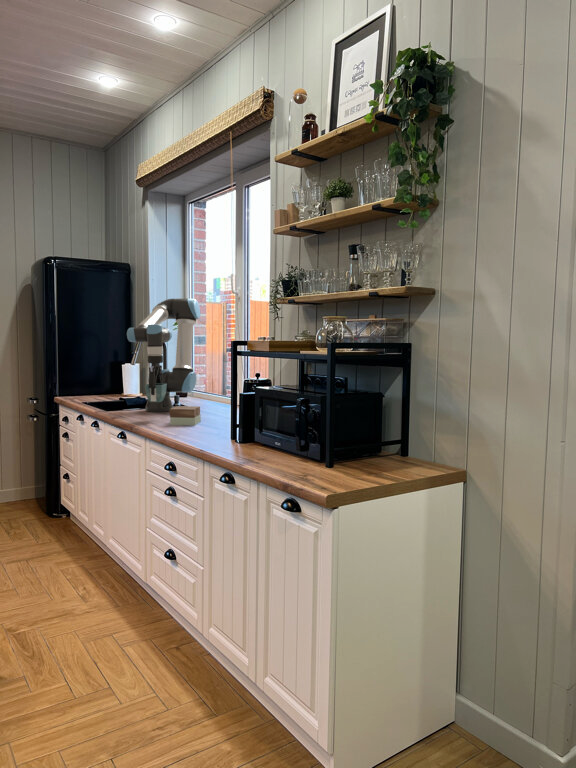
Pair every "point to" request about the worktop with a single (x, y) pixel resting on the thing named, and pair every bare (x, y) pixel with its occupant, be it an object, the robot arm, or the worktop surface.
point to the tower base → (185, 421)
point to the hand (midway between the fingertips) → (156, 399)
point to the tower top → (185, 411)
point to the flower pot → (157, 392)
